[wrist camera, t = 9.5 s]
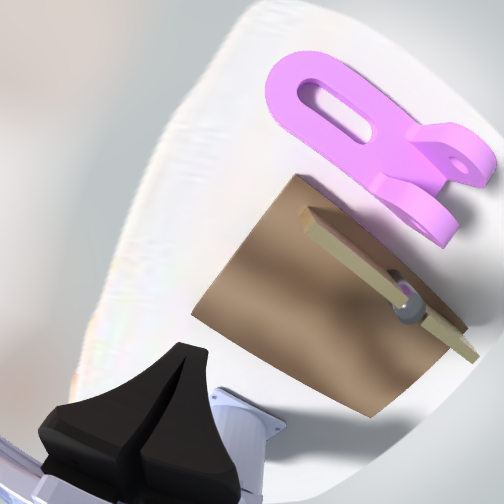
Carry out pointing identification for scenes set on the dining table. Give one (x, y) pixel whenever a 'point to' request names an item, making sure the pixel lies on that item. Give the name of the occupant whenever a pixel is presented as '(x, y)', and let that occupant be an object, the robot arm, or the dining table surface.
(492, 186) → the dining table surface
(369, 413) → the walnut board
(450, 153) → the bracket
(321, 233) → the fixed leaf
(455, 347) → the swing leaf
